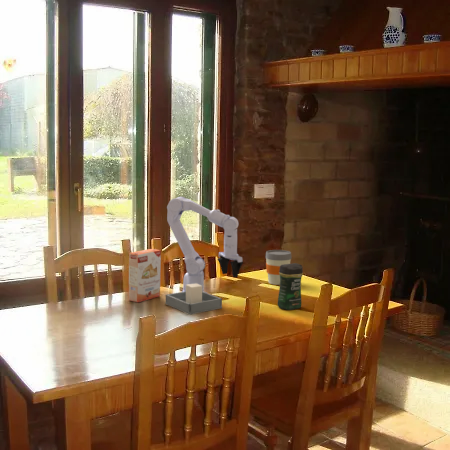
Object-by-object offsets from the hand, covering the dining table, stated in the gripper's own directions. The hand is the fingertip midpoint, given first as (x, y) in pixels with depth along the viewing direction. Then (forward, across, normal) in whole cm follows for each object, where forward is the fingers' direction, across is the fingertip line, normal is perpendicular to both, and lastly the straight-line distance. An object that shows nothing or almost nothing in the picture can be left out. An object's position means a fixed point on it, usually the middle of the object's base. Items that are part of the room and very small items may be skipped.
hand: (229, 275), depth 264 cm
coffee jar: (+10, -28, -10) cm, 31 cm away
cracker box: (+10, +17, +33) cm, 38 cm away
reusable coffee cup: (+10, +7, -35) cm, 37 cm away
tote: (+9, -4, +22) cm, 24 cm away
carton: (+9, -4, +22) cm, 24 cm away
